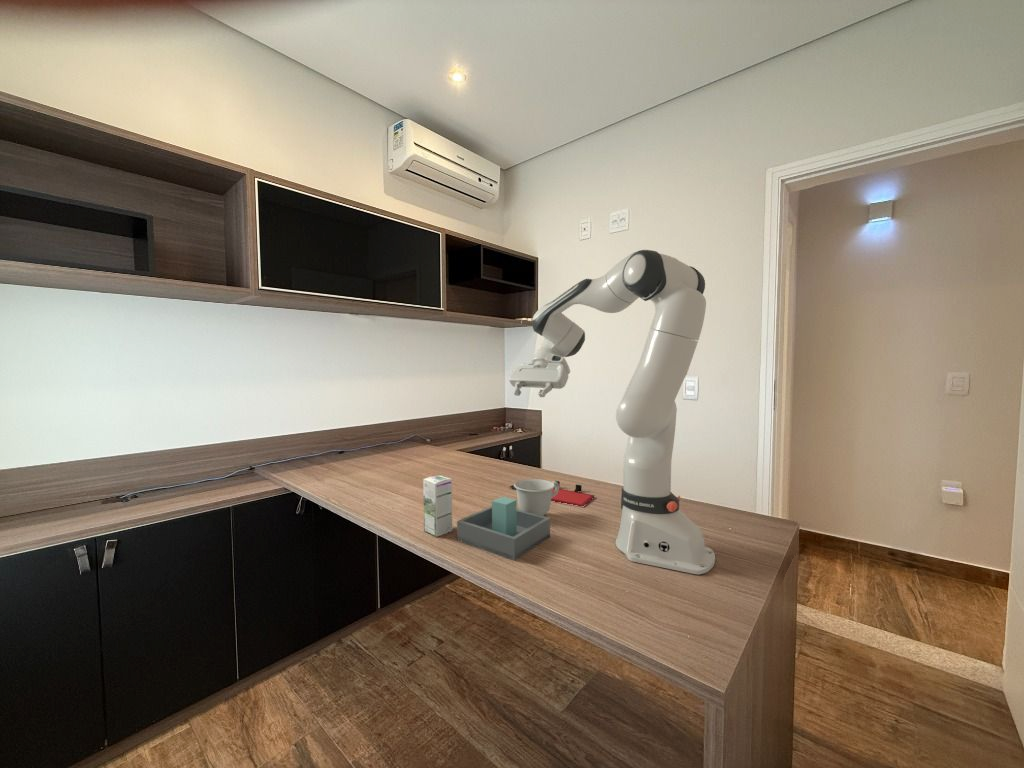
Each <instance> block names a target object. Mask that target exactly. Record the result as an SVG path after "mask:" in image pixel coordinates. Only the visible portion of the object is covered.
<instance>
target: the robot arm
mask: <svg viewBox="0 0 1024 768" xmlns="http://www.w3.org/2000/svg"><path fill="white" fill-rule="evenodd" d="M705 289H706V280H705V277H704V276H703V274H702V273H701V272H700V271H699V270H697V268H695V267H693V266H690V265H687V264H686V263H684V262H682V261H680V260H679V259H677V258H676V257H672V256H671V255H666V254H663V253H659V252H658V251H656V250H650V249H641V250H637V251H635V252H632V253H630V254H629V255H627V256H626V257H624V258H623V259H621V260H620V261H619V262H618V263H617V264H615V265H614V266H613V267H612V268H611V269H610V270H609V271H608V272H607V273H605V274H604V275H602V276H599V277H598V278H585V279H583V280H581V281H579V282H577V283H576V284H574V285H573V286H571V287H570V288H568V289H567V290H566V291H564V292H563V293H562V294H560V295H559V296H557V297H556V298H555V299H553V300H552V301H550V302H548V303H546V304H545V305H543V306H542V307H540V308H539V309H538V310H537V311H536V312H535V313H534V314H533V316H532V318H531V326H532V329H533V332H535V333H536V334H538V335H540V336H541V337H543V338H544V339H543V340H542V342H541V344H540V345H541V346H540V348H539V349H538V350H537V351H536V353H535V355H534V356H533V358H532V360H531V362H530V363H528V364H527V363H522V364H520V365H518V366H517V367H516V368H514V370H513V371H512V372H511V374H510V375H509V377H508V381H509V383H510V384H511V386H512V387H514V388H515V389H514V391H513V395H514V396H518V397H519V396H520V395H521V394H522V391H521V389H522V388H533V389H534V388H537V389H538V388H539V392H538V396H539V398H545V397H546V395H547V394H548V393H549V392H551V391H552V390H553V389H559V390H560V389H563V388H564V387H566V385H567V382H568V379H569V375H570V373H571V369H570V367H569V364H568V362H567V360H566V359H565V358H569V357H573V356H575V355H577V353H578V352H579V351H580V350H581V349H582V347H583V345H584V344H585V341H586V332H585V330H584V329H583V328H582V327H580V326H579V324H576V323H575V322H574V321H573V320H572V319H570V318H569V317H567V316H566V315H565V314H564V313H563V312H564V311H566V310H567V309H570V308H571V307H573V306H574V305H583V306H587V307H590V308H592V309H595V310H598V311H599V312H603V313H606V314H616V313H617V314H618V313H620V312H622V311H624V310H625V309H627V308H629V307H630V306H631V305H632V304H633V303H634V302H635V301H637V300H638V299H639V298H640V299H641V300H642V301H644V302H647V301H649V300H650V301H651V302H652V303H653V304H654V307H655V309H654V310H655V312H654V316H653V319H652V322H651V325H650V327H649V330H648V334H647V336H646V339H645V340H646V341H645V343H644V346H643V350H642V352H641V355H640V358H639V361H638V364H637V366H636V369H635V370H634V372H633V374H632V376H631V379H630V380H629V383H628V385H627V387H626V390H625V391H624V394H623V397H622V399H621V401H620V402H619V404H618V405H617V408H616V412H615V419H616V424H617V426H618V428H619V429H620V430H621V431H622V432H623V433H624V434H626V435H627V436H628V440H627V445H626V448H625V453H624V456H623V480H622V481H623V482H622V483H623V486H622V488H621V493H620V510H621V518H620V525H619V530H618V534H617V536H616V540H615V546H616V548H617V549H618V550H619V551H620V552H622V553H623V554H624V555H625V556H626V558H627V559H628V560H629V561H630V562H632V563H633V562H634V563H639V564H645V565H648V566H653V567H659V568H664V569H668V570H673V571H678V572H683V573H686V574H693V575H703V574H706V573H708V572H710V570H712V569H713V568H714V567H715V564H716V555H715V552H714V550H713V549H712V548H711V547H708V546H706V544H705V539H704V535H703V531H702V530H701V528H700V526H699V525H698V524H696V523H695V522H694V521H692V520H691V519H690V518H689V517H688V516H687V515H686V514H684V513H683V512H682V511H681V510H680V502H681V496H680V495H678V496H676V495H675V494H673V493H672V491H671V489H672V488H671V487H672V485H671V484H672V460H673V459H672V458H673V451H674V442H675V435H676V424H677V423H676V422H677V410H678V408H677V403H676V398H677V397H678V394H679V391H680V389H681V386H682V385H683V383H684V381H685V379H686V377H687V375H688V372H689V369H690V366H691V363H692V360H693V358H694V354H695V351H696V349H697V346H698V343H699V340H700V337H701V333H702V331H703V326H704V321H705V314H706V309H707V299H706V297H705V296H704V293H705Z"/></svg>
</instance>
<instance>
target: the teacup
mask: <svg viewBox="0 0 1024 768" xmlns="http://www.w3.org/2000/svg"><path fill="white" fill-rule="evenodd" d="M556 481H557V480H553V481H549V480H546V479H542V478H541V479H539V478H527V479H526V478H525V479H520V480H518V481H516V482H514V484H513V485H514V487H515V488H514V489H515V490H516V499H517V505H518V510H521V511H525V512H529V513H532V514H536V515H540V516H544V517H545V515H547V513H548V512H549V511H550V508H551V504H552V502H551V499H552V498H553V497H554V496H556V495H557V493H558V491H559V489H560V488H559V484H558V483H557V482H556ZM554 487H555V490H554V492H553V493H552V490H553V488H554Z"/></svg>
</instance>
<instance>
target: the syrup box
mask: <svg viewBox="0 0 1024 768" xmlns="http://www.w3.org/2000/svg"><path fill="white" fill-rule="evenodd" d="M422 483H423V487H422V488H423V489H422V490H423V531H424V532H425V533H427V534H429V535H431V536H433V537H435V538H436V537H437V538H438V537H441V536H444V535H446V534H449V533H451V532H453V479H452V478H449V477H446V476H443V475H439V474H438V475H432V476H428V477H426V478H422ZM448 532H449V533H448ZM443 534H444V535H443Z"/></svg>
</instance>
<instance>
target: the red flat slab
mask: <svg viewBox="0 0 1024 768" xmlns="http://www.w3.org/2000/svg"><path fill="white" fill-rule="evenodd" d="M555 481H556V482H557V483H558V484H559V487H561V485H560V484H561V483H560V481H558V480H555ZM582 486H583V485H581V484H575V489H574V491H572V490H567V489H562V488H559V491H558V493H557V495H556V496H554V497H553V498H552V499H551V501H555V502H554V503H556V502H561V503H560V504H562V503H567V504H573V505H578V506H584V505H585V504H587V503H588V502H589V501H590V500H591V499H592V498H593V497H594V496H596V495H595V494H590V493H584V492H582ZM509 488H512V489H516V488H515V487H514V484H513V485H510V486H509ZM554 490H555V487H554V488H553V490H552V493H553V492H554ZM578 491H581V493H580V492H578ZM592 500H593V499H592ZM592 500H591V501H592ZM591 501H590V502H591ZM590 502H589V503H590ZM589 503H588V504H589ZM567 504H566V505H567ZM588 504H587V505H588ZM578 506H577V507H578ZM584 507H585V506H584Z"/></svg>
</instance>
